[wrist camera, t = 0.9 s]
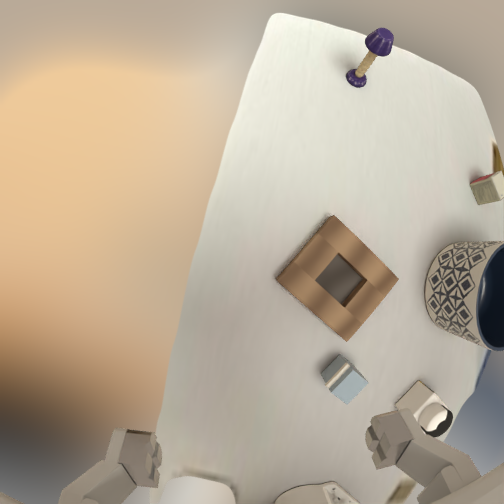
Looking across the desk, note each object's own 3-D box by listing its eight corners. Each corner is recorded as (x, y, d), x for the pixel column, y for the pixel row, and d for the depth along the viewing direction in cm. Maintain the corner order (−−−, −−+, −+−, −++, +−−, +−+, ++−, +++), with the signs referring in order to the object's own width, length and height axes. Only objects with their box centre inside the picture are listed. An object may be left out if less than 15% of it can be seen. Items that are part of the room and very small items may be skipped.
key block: (354, 365, 51) (368, 382, 43) (335, 385, 51) (347, 404, 43) (337, 351, 51) (350, 367, 43) (318, 371, 51) (328, 390, 43)
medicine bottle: (433, 395, 51) (462, 419, 39) (410, 419, 51) (435, 447, 39) (418, 379, 51) (448, 402, 39) (393, 404, 51) (419, 432, 39)
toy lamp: (371, 85, 51) (404, 40, 34) (355, 93, 51) (386, 46, 34) (356, 68, 51) (384, 19, 34) (340, 75, 51) (365, 25, 34)
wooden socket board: (391, 277, 51) (398, 279, 48) (342, 337, 51) (346, 341, 48) (329, 217, 51) (333, 215, 48) (275, 279, 51) (277, 280, 48)
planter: (484, 321, 51) (533, 336, 35) (422, 338, 51) (471, 364, 35) (484, 239, 51) (537, 237, 34) (421, 246, 51) (475, 245, 34)
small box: (488, 198, 51) (510, 193, 43) (477, 205, 51) (500, 200, 43) (479, 177, 51) (501, 169, 43) (468, 183, 51) (491, 176, 43)
